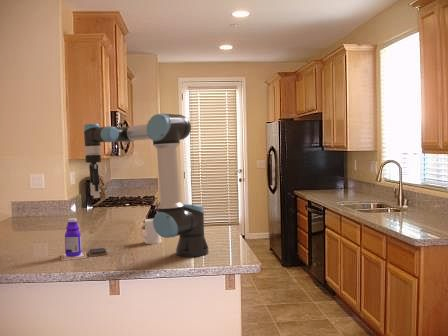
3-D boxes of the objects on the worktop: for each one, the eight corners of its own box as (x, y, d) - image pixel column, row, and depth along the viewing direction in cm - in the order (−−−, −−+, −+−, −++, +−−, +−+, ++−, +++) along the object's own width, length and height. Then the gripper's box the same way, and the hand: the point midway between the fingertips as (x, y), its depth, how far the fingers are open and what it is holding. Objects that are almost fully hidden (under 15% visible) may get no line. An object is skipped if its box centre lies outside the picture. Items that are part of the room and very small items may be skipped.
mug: (142, 245, 232) (141, 222, 232) (137, 242, 240) (136, 220, 239) (163, 242, 238) (163, 220, 237) (158, 239, 246) (157, 217, 245)
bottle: (83, 253, 217) (81, 217, 216) (80, 256, 211) (78, 219, 210) (67, 254, 217) (65, 218, 216) (64, 257, 211) (62, 220, 210)
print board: (86, 257, 211) (86, 256, 211) (61, 260, 207) (61, 258, 207) (85, 252, 221) (85, 251, 221) (61, 255, 217) (61, 253, 217)
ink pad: (107, 254, 215) (107, 251, 215) (90, 256, 212) (89, 253, 212) (105, 250, 223) (105, 247, 223) (88, 252, 221) (88, 249, 221)
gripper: (104, 154, 218) (106, 198, 219) (97, 154, 241) (99, 193, 242) (87, 155, 215) (90, 199, 216) (82, 154, 238) (85, 195, 239)
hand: (95, 196), depth 229 cm, fingers open, 13 cm apart
